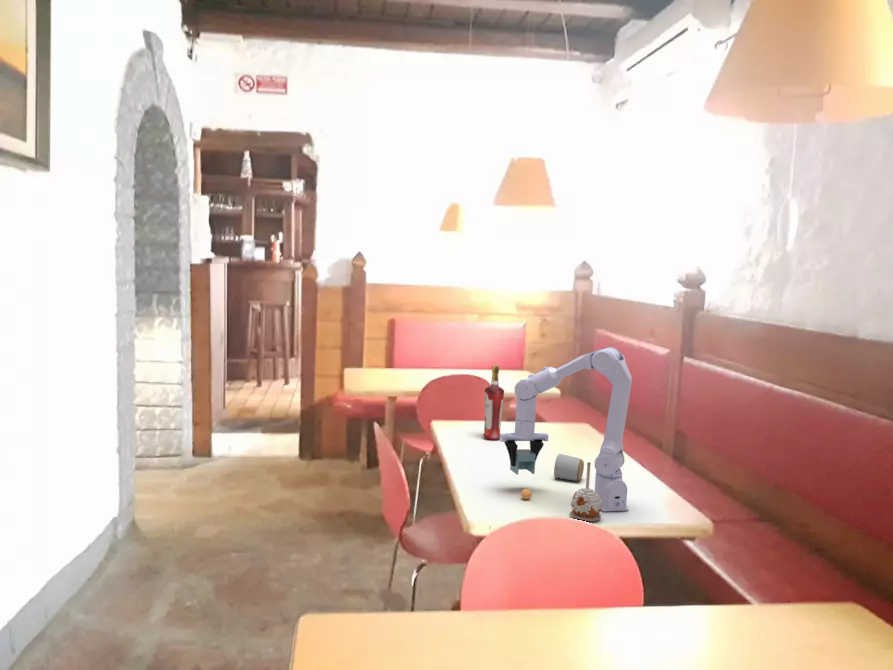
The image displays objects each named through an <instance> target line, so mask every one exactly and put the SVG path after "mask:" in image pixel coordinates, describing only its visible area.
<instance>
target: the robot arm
mask: <svg viewBox="0 0 893 670" xmlns="http://www.w3.org/2000/svg"><path fill="white" fill-rule="evenodd" d="M584 369H586V370H595V371H597V372H598V373H599V374H601V375H603V376H605V377H606V379H607V380H608V381H609V382H610V383H611V385H612V388H611V393H610V394H611V395H610V399H609V404H608V405H609V407H608V412H607V419H606V425H605V431H604V437H603V441H602V444H601V446H600V449H599V450H600V451H599V453H598V455H597V456H596V458H595V460H594V468H595V477H594V478H595V479H594V491H595V492H597V494H598V495H599V496H600V499H601V501H602V508H601V510H600V511H602V512H603V513H604V512H622V511H623V512H625V511H628V512H629V510H630V509H629V507H627V500H628V499H627V498H628V486H627V484H626V483H625V482H624V480H623V472H622V469H621V468H622V467H623V466H624V463H625V455H624V443H623V439H624V433H625V432H624V431H625V427H626V422H627V421H626V420H627V413H628V409H629V401H630V395H631V390H632V383H633V378H632V374H631V372H630V370H629V367H628V365H627V363H626V357H625V356H624V354H622V352H621V351H620V350H618V349H617V348H615V347H612V346H608V347H605V348H604V349H599V350H596V351H592V352H590V353H585V354H582V355H580V356H578V357H577V358H575V359H573V360H571V361H569V362H567V363H565V364H563V365H562V366H559V367H557V368H555V367H553V366H549V367H548V366H544V367H542V368H541V371H539V372H536V373H535V374H529V375H527V377H528V378H523V379H520V380H518V382H517V383H516V384H515V386H514V394H515V395H516V406H515V407H516V408H515V418H514V419H515V423H514V424H515V425H514V432H510V433H509V432H508V433H500V438H499V441H500V442H501V443H504V445H505V447H506V449H507V454H508V456H509V457H508V458H509V462H510V465H512V466H515V463H516V451H517V449H518V446H519V445H518V444H517V442H529V447H530V448H529V450H531V451H532V452H534V453H535V454H536V458H535V463H536V461H537V458H538V456H539V453H540V452H541V450H542V449H543V447H544V442H549V434H547V433H546V432H545V433H542V432H541V433H540V432H538V433H537V432H535V427H536V409H537V396H539V394H542V393H545V392H546V391H549V390H550V389H551V390H552V389H553V388H556V387H557V386H559V385H560V384H561V381H562V379H563V378H565V377H568V376H570V375H573V374H575V373H577V372H578V371H581V370H584Z"/></svg>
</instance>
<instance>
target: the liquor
mask: <svg viewBox="0 0 893 670" xmlns="http://www.w3.org/2000/svg"><path fill="white" fill-rule="evenodd" d="M491 369H492V370H491V372H492V373H491V374H492V375H491V383H490V386H487V387H486V388H484V427H483V429H484V433H483V434H482V436H483V437H484V438H485V440H487V441H498V440H500V434H501V424H502V423H501V422H502V414H503V405H504V395H505V390H504V389H503V388H502V387H501V386H500V385H499V384H500V383H499V381H500V380H499V373H500V365H492V366H491Z"/></svg>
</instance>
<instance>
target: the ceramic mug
mask: <svg viewBox="0 0 893 670" xmlns="http://www.w3.org/2000/svg"><path fill="white" fill-rule="evenodd" d="M553 467H554V468H553V470H554V471H553V477H554V478H555V479H558V478H560V479H559V480H565V479H566V481H571V480H572V481H571V482H579V481H581V480H582V477H583V474H584V469H585V468H584V467H585V462H584V459H582V458H579V457H576V456H572V455H567V454H563V453H558V454H557V455H556V458H555V461H554V466H553Z"/></svg>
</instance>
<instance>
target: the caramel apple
mask: <svg viewBox="0 0 893 670" xmlns="http://www.w3.org/2000/svg"><path fill="white" fill-rule="evenodd" d="M586 465H587V466H586V480H585V481H586V482H585V487H583V488H578V490H577V491H575V492H573V496H572V498H571V502H570V507H571V509H572V510H571V511H570V512H569V516H570V517H572V518H573V519H577V520H578V519H582V520H581V521H583V520H585V521H584V522H596V521H598V520H599V521H600V519H601V518H602V515H601V513H600V512H601V511H602V510H601V508H602V501H601V499H600V496H599V495H598V494H597V492H595V489H594V490H593V489H592V488H590V479H591V477H590V475H591V462H587V463H586Z"/></svg>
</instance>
